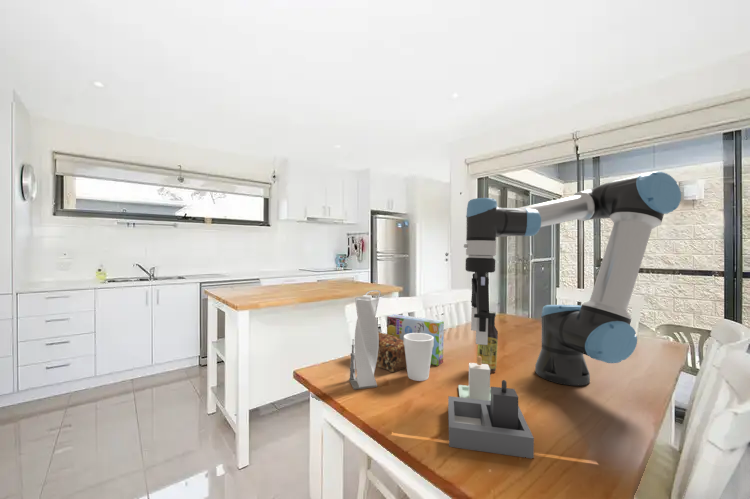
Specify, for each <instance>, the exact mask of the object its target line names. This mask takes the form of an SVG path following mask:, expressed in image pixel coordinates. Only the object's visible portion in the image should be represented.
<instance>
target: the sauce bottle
mask: <svg viewBox="0 0 750 499" xmlns="http://www.w3.org/2000/svg"><path fill="white" fill-rule="evenodd" d="M489 314H490V316H489V317H488V345H482V344H477V352H476V358H477V357H478V356H481V358H482V364H488V365H489V368H490V374H494V373H495V372H496V370H497V360H498V359H497V358H498V341H499V336H498V335H499V334H498V330H497V327H496V326H495V325H496V323H495V321H496V315H497V313H496V312H495V311H491V310H489Z"/></svg>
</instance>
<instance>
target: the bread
mask: <svg viewBox="0 0 750 499" xmlns="http://www.w3.org/2000/svg"><path fill="white" fill-rule="evenodd" d="M378 333H379V348H378V357H377V363H376V367H377V368H380V369H384V370H386V371H388V372H390V373H394V372H399V371H401V370H402V369H407V365H406V356H405V347H404V341H403V340H401V339H399V338H398V337H396V336H392V335H389V334H387V333H384V332H380V331H378Z"/></svg>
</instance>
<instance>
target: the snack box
mask: <svg viewBox="0 0 750 499" xmlns="http://www.w3.org/2000/svg"><path fill="white" fill-rule="evenodd" d="M386 318H387V319H386V334H389V335H392V336H396V337H398V338H399V339H401V340H403V341H404V335H406V334H409V333H424V334H429V335H431V336H433V337H434V346H433V349H432V356H431V363H430V365H432V366H439V365H441V364H442V363H444V341H445V340H444V338H445V337H444V336H445V335H444V334H445V332H444V331H445V330H444V327H445V321H444V320H443V319H442V320H439V319H432V318H425V317H418V316H417V317H416V316H412V315H411V316H409V315H403V314H394V313H393V314H390V315H387V316H386Z"/></svg>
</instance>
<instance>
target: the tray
mask: <svg viewBox="0 0 750 499" xmlns="http://www.w3.org/2000/svg"><path fill="white" fill-rule="evenodd" d="M457 388H458V395H459V396H458V397H461V398H469V385H464V384H458V385H457ZM490 401H491V387H490Z"/></svg>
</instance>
